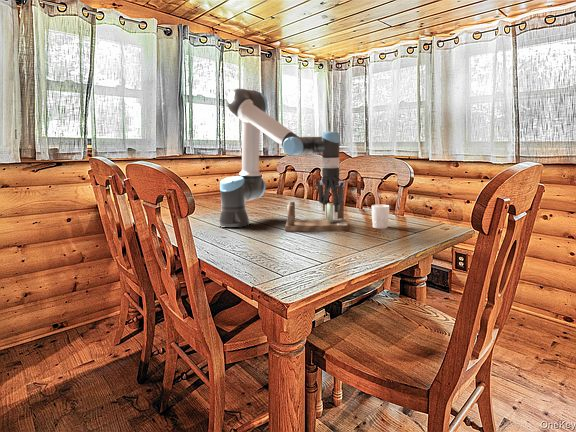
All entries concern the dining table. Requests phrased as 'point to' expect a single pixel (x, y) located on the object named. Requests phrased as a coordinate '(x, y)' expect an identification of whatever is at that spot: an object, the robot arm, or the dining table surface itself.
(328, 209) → the hinged leg
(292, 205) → the wooden peg stand
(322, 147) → the robot arm
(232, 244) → the dining table surface
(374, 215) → the white cup
